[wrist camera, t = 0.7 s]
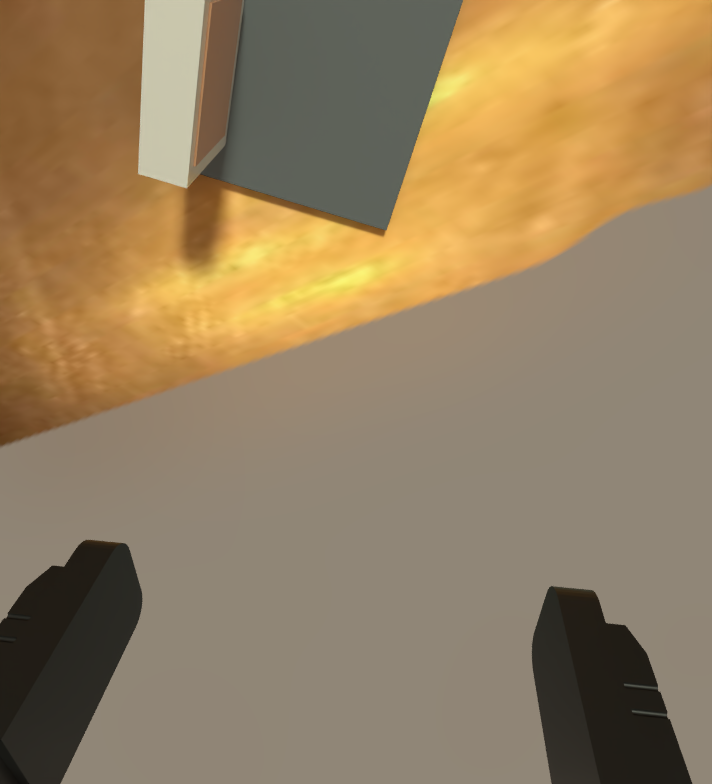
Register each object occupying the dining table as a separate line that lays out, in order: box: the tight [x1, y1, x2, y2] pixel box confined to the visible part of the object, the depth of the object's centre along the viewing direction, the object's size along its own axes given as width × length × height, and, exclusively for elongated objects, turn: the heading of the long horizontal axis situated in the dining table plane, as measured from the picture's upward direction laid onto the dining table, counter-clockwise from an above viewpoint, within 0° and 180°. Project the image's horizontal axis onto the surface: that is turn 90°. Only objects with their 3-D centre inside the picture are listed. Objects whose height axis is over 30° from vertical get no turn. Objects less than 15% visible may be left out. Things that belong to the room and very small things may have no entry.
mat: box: [200, 0, 463, 230], centre depth 29 cm, size 14×12×1 cm
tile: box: [138, 0, 244, 188], centre depth 26 cm, size 2×8×7 cm, turn 164°
